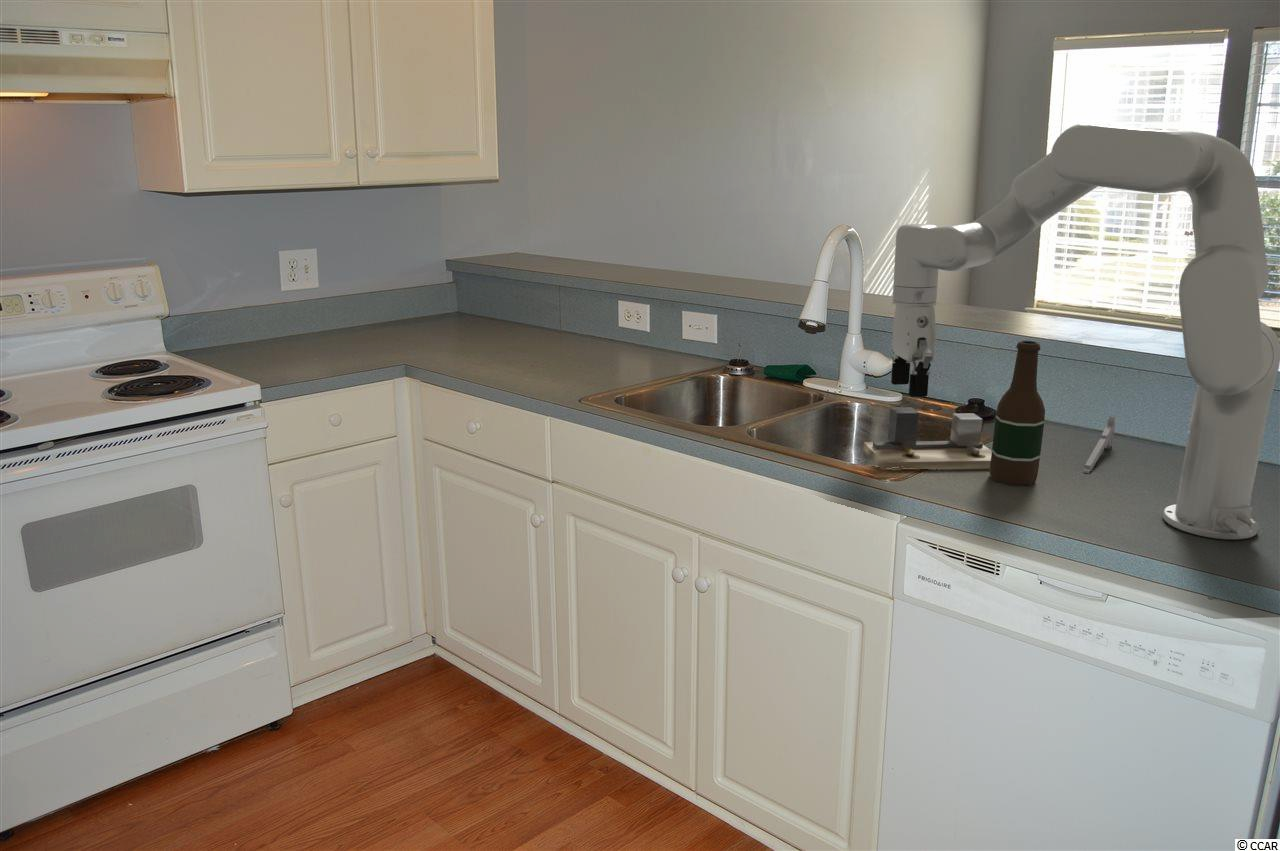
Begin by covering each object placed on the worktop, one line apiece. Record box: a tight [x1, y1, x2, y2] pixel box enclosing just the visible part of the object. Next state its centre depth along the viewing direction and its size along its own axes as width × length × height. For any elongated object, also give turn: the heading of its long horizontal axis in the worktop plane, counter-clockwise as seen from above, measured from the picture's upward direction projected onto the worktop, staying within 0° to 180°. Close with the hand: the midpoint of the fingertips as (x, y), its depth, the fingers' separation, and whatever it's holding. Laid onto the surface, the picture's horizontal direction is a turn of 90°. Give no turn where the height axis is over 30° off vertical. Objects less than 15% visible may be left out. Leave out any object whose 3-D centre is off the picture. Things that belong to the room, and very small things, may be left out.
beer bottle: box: [989, 340, 1046, 487], centre depth 169 cm, size 8×8×24 cm
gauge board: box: [862, 412, 992, 471], centre depth 182 cm, size 12×22×7 cm, turn 94°
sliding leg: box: [887, 406, 920, 456], centre depth 181 cm, size 8×4×7 cm, turn 4°
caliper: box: [1082, 416, 1116, 474], centre depth 183 cm, size 20×1×6 cm, turn 145°
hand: (908, 390), depth 181 cm, fingers open, 9 cm apart
